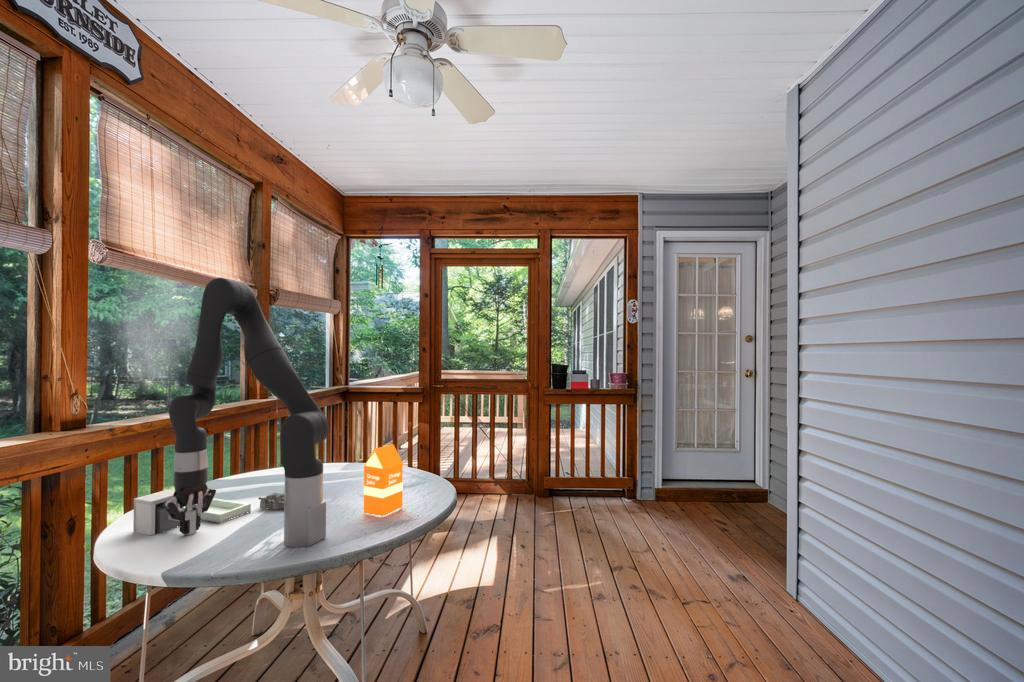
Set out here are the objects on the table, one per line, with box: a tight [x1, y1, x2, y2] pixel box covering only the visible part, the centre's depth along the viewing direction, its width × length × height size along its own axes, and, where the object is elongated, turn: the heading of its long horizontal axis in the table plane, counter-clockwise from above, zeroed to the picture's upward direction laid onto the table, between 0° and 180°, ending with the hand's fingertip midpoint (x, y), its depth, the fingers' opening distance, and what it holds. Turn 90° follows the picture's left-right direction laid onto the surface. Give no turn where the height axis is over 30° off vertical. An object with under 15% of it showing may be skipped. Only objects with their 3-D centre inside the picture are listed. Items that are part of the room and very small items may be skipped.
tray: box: [201, 498, 252, 524], centre depth 142 cm, size 20×10×2 cm, turn 70°
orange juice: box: [363, 443, 404, 516], centre depth 143 cm, size 8×9×20 cm
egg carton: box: [258, 492, 284, 510], centre depth 149 cm, size 11×8×4 cm
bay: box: [132, 488, 180, 536], centre depth 130 cm, size 7×9×9 cm
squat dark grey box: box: [155, 503, 197, 536], centre depth 129 cm, size 15×5×6 cm, turn 70°
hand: (190, 531), depth 126 cm, fingers closed on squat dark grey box, 2 cm apart
